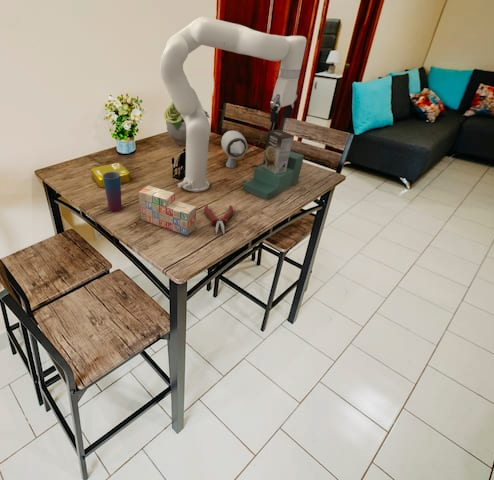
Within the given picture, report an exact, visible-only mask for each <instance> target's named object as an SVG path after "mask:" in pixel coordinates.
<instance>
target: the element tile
mask: <svg viewBox="0 0 494 480" xmlns="http://www.w3.org/2000/svg"><path fill="white" fill-rule="evenodd" d="M112 171H114V172H118V173H120V180H121V185H122V184H126V183H129V182H131V173H130V171H129V170H128V169H127V168H126V167H125V166H124V165H123V164H122V163H121V162H114V163H110V164H104V165H99V166H95V167H92V168H91V175H92V176H91V177H92V178H93V180H94V181H95V182H96V184H97V185H98V186H99V187H100V188H105V186H104V181H103V174H104V173H106V172H112Z"/></svg>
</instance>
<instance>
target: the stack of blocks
mask: <svg viewBox="0 0 494 480" xmlns="http://www.w3.org/2000/svg"><path fill="white" fill-rule="evenodd" d="M138 203H139V214H140V220H142V221H144V222H147V223H150V224H153V225H156V226H158V227H161V228H164V229H167V230H170V231H173V232H176V233H178V234H181V235H184V236H188V235H190V234H191V233H192V232H193V231H194V230H195V229H196V219H197V217H196V215H197V206H195V205H191V204H189V203H186V202H182V201H179V200H176V193H175V192H173V191H170V190H169V191H168V190H165V189H162V188H158V187H155V186H152V185H146V186H145V187H144V188H142V189H140V190H139V191H138Z"/></svg>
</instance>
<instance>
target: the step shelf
mask: <svg viewBox="0 0 494 480" xmlns="http://www.w3.org/2000/svg"><path fill="white" fill-rule="evenodd" d="M304 157H305V155H304V154H302V153H299V152H294V151H291V150H290V154H289V159H288V163H287V168H286V172H282V173H278V174H274V173H272V172H270V171H269V170H267V169H265V168H264V167H262V166H263V164H261V165H258V166H257V167H255V168H254V170H253V178H251V179H250V180H248V181H246V182H243V183H242V189H241V190H242V191H245V192H247V193H250V194H253V195H254V196H257V197H259V198H262V199H264V200H266V201H267V200H269V199H271V198H273V197H274V196H276V195H278V194H280V193H281V192H283V191H284V190H286V189H289V188H290V187H292V186H293V185H296V184H297V183H299V180H300V175H301V172H302V171H301V170H302V167H303V163H304Z"/></svg>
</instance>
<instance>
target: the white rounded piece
mask: <svg viewBox="0 0 494 480" xmlns="http://www.w3.org/2000/svg"><path fill="white" fill-rule="evenodd" d="M220 141H221V142H220V143H221V148H222V150H223V152H224V154H226V155H227V156H228V158H227V160H226V163H225V167H226V168H229V169H233V168H234V169H235V168H236V167H237V163H236V160H238V159H241V158H242V157H244V156H245V155H246V153H247V152H248V149H249V147H248V142H247V140H246V138H245V136H244V135H243V134H242V133H241V132H239V131H237V130H228V131H226V132H225V133H224V134H223V135H222V137H221V140H220Z"/></svg>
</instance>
